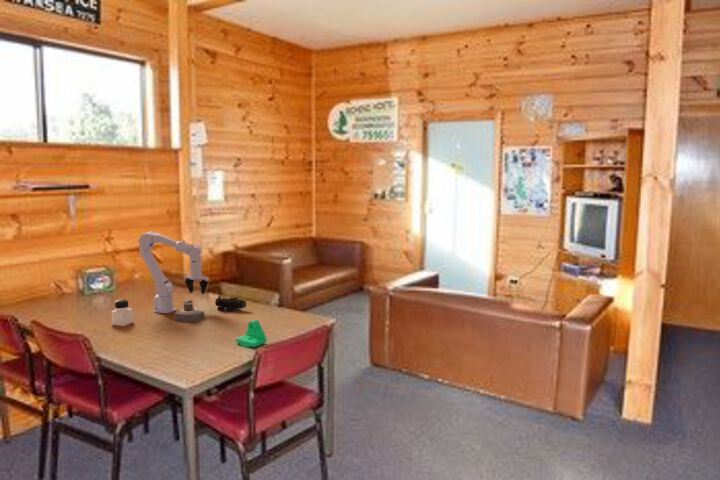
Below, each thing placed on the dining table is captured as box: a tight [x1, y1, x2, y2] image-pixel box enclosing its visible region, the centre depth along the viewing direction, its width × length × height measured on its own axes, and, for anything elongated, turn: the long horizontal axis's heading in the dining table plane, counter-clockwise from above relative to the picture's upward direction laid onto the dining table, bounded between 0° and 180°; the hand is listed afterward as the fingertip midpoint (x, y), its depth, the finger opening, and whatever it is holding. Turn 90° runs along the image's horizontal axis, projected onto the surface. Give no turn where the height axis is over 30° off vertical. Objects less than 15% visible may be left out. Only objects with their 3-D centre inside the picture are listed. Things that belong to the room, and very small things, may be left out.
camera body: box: [174, 307, 205, 323], centre depth 266 cm, size 12×8×5 cm, turn 71°
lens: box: [182, 299, 194, 311], centre depth 265 cm, size 4×4×6 cm
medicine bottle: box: [111, 299, 134, 327], centre depth 258 cm, size 7×7×12 cm
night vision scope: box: [215, 295, 247, 313], centre depth 281 cm, size 8×18×10 cm
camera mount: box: [235, 319, 268, 348], centre depth 229 cm, size 12×8×10 cm, turn 55°
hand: (197, 293), depth 279 cm, fingers open, 7 cm apart
